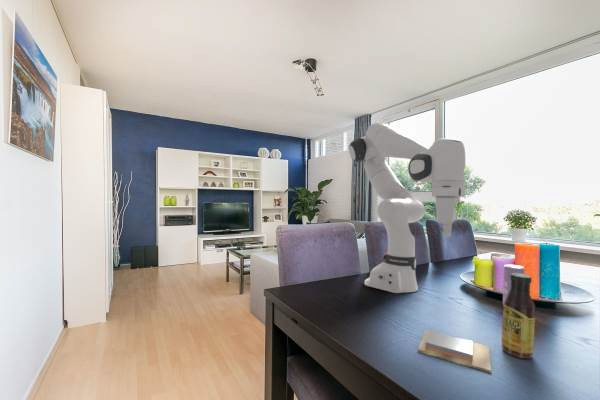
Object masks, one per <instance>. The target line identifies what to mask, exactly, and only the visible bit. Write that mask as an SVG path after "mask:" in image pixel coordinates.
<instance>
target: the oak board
mask: <svg viewBox="0 0 600 400" xmlns="http://www.w3.org/2000/svg"><path fill="white" fill-rule="evenodd" d="M430 331H431V330H429V331H428V330H425V331H424V332H423V335H422V338H421V342H420V343H419V346H418V348H417V352H418V353H421V354H425V355H428V356H431V357H435V358H437V357H439V358H438V359H441V360H444V359H446V360H445V361H448V362H451V361H452V362H451V363H454V362H455V363H454V364H458V365H461V364H462V366H465V365H466V366H465V367H468V366H469V368H471V367H473V369H475V368H477V369H476V370H478V369H480V371H482V370H483V372H485V371H486V373H488V372H489V374H492V365H491V354H490V346H489V345H485V344H481V343H476V342H473V360H472V362H471V361H467V360H464V359H460V358H457V357H453V356H450V355H446V354H443V353H439V352H436V351H432V350H429V349H426V340H427V337H428V334H429V332H430Z"/></svg>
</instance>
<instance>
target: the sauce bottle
mask: <svg viewBox="0 0 600 400" xmlns="http://www.w3.org/2000/svg"><path fill="white" fill-rule="evenodd" d="M510 279H511V288H510V292H509V294H508V296H507V298H506V300H505V302H504V305H503V308H502V327H501V330H502V331H501V347H502V350H503V351H504V352H505V353H507V354H508V355H511V356H513V357H515V358H518V359H525V360H526V359H531V358H532V356H533V352H534V345H535V344H534V343H535V342H534V341H535V327H536V326H535V325H536V316H535V315H536V313H535V311H536V304H535V302H534V300H533V299H532V297H531V291H530V290H531V283H532V276H531V275H529V274H520V273H511V277H510Z"/></svg>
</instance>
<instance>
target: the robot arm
mask: <svg viewBox="0 0 600 400" xmlns="http://www.w3.org/2000/svg"><path fill="white" fill-rule="evenodd" d="M348 153H349V155H350V157H351V159H352V160H353V161H354V162H356V163H360V162H364V161H365V162H364V164H363V167H364V170H365V174H366V176H367V179H368V180H369V182H370V183H371V185H372V187H373V189H374V191H375V193H376V195H377V196H378V197H379V198H381V199H382V201H381V202H380V203H378V205H377V209H376V211H377V212H376V213H377V216H378V218H379V219H380V221H381V222H382V223H383V224H384V228H385V230H386V234H387V252H385V253H384V254H383V256H382V260H383V261H382V262H381V263H379V264H378V265H376V266H374V267H373V268H372V269H371V270H370V272H369V273H370V274H369V277H367V278H366V279H364V285H365V286H366V287H369V288H370V287H371V288H375V289H377V290H378V289H379V290H382V291H387V292H389V293H393V294H394V293H395V294H402V293H415V292H418V291H419V287H418V283H417V282H418V281H417V275H416V269H417V256H416V252H415V250H416V249H415V248H416V239H415V236H414V235H413V233H412V232H411V229H410V226H409V224H411V223H417V221H420V220H422V219H423V218H424V216H425V213H426V207H425V205H424V204H423V202H421V201H420V200H419V199H417V198H415V197H414V196H413V194H412V193H410V192H409V191H408V190H407V188H405V187H404V186H403V185H402V183H401V182H400V180H399V179H398V178H397V176H396V174H395V173H394V171H393V170H392V169H391V167H390V166H389V164H388V162H387V161H386V157H387V158H394V159H395V158H397V159H405V160H409V163H408V167H407V168H408V169H407V170H408V174H409V177H410V178H411V180H413V181H416V182H420V183H431V188H432V189H431V197H432V198H435V211H436V213H435V214H436V220H437V223H438V224H442V229H443V237H444V238H451V237H452V228H453V222H455V221H456V220H457V203H461V198H465V197H466V178H465V173H464V172H465V168H466V150H465V145H464V143H463V141H462V140H460V139H456V138H447V137H446V138H444V137H443V138H438V139H436V140H434V142H433V144H432V145H431V146H426V145H425V144H422V143H420V142H418V141H417V140H415V139H413V138H411V137H410V136H408V135H406V134H405V133H403V132H401V131H400V130H399V129H397V128H396V127H393V126H392V125H390V124H387V123H383V122H379V121H378V122H374V123H372V124H371V125H370V126H368V127H367V130H366V134H365V135H364V136H362V137H359V138H355V139H354V140H353V141H351V142H350V143H349V145H348Z"/></svg>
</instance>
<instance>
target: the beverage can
mask: <svg viewBox="0 0 600 400" xmlns="http://www.w3.org/2000/svg"><path fill="white" fill-rule="evenodd" d="M502 270H503V272H502V273H503V274H502V276H503V277H502V278H503V279H502V280H503V281H502V287H503V288H502V289H503V290H502V293H503V294H502V305H503V306H504V302H505V300H506V298H507V296H508V294H509V292H510V288H511V279H510V277H511V273H520V274H525V272H526V271H525V267H524V266H522V265H517V264H509V263H506V264H504V265H503V269H502ZM525 275H526V274H525Z"/></svg>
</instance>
